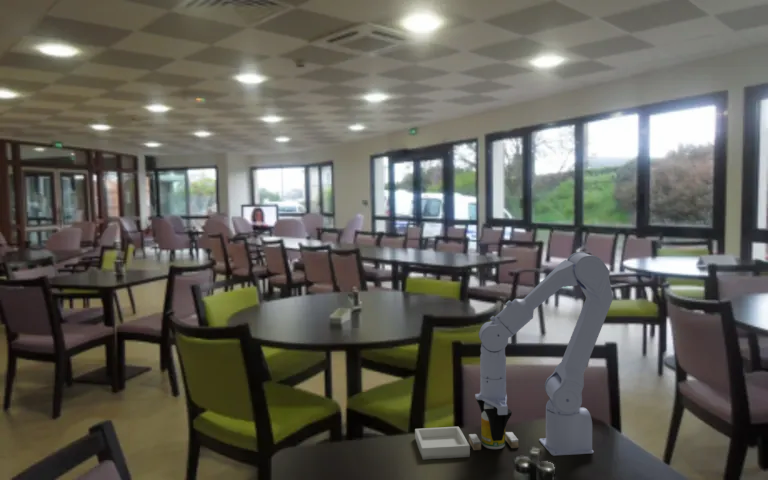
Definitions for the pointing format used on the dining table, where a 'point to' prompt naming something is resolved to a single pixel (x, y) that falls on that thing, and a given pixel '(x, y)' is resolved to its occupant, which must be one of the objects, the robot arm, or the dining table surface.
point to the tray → (441, 443)
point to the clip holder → (509, 438)
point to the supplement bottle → (489, 431)
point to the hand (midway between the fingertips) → (493, 434)
